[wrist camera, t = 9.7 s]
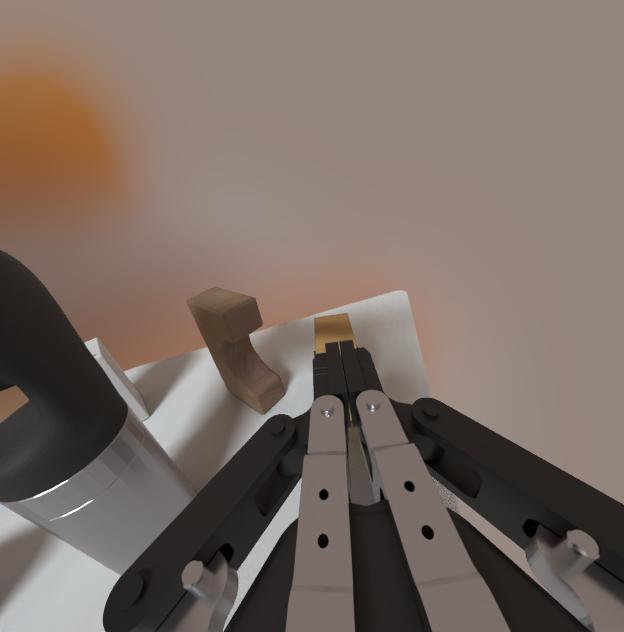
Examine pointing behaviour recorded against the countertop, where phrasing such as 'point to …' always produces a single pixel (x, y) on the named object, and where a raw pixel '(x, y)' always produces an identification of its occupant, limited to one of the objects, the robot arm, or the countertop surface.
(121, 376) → the supplement box
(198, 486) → the countertop surface
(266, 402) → the decorative block
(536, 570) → the robot arm
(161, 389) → the countertop surface
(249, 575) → the countertop surface
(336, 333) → the slider block
